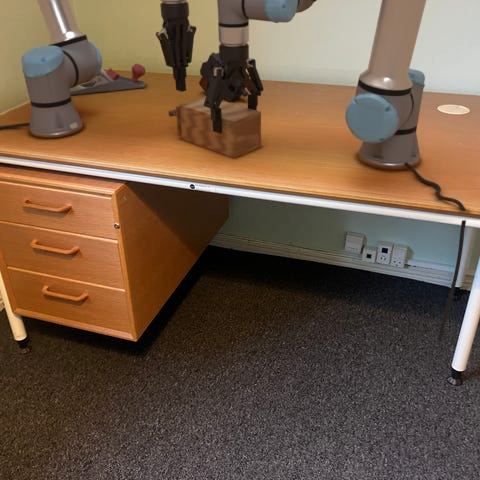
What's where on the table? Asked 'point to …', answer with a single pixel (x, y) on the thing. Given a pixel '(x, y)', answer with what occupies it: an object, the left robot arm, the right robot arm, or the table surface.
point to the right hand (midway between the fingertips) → (235, 125)
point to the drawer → (177, 114)
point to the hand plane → (111, 81)
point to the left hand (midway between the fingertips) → (181, 90)
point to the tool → (235, 89)
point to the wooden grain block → (233, 127)
